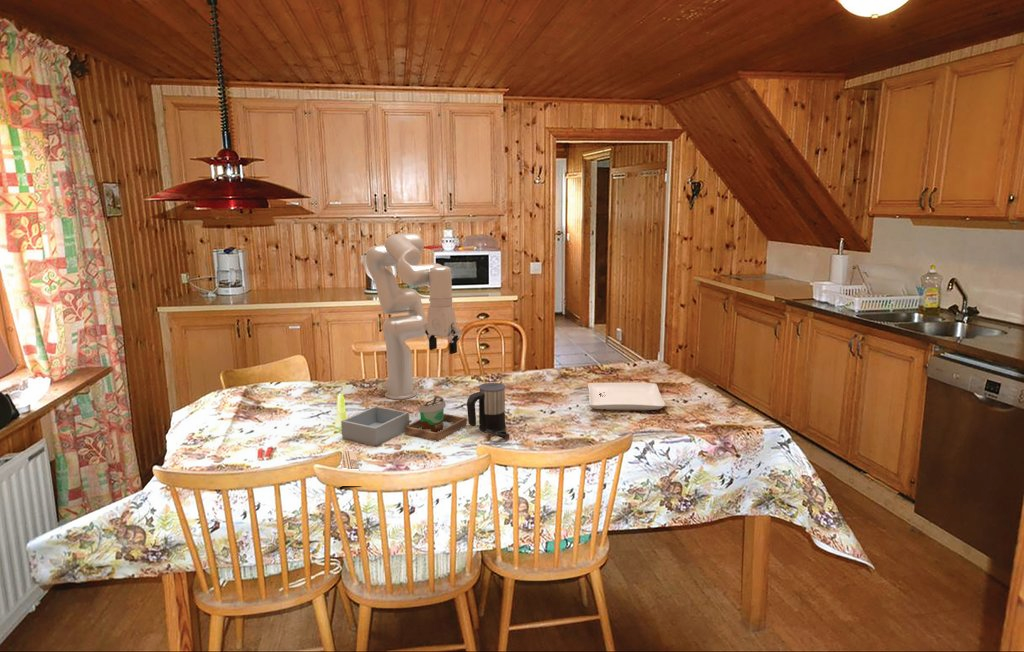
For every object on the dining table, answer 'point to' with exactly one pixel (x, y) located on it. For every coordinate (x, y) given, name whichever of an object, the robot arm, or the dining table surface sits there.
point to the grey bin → (375, 425)
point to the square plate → (625, 396)
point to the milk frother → (489, 409)
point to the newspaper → (349, 460)
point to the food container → (432, 414)
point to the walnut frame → (414, 431)
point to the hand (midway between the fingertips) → (443, 351)
